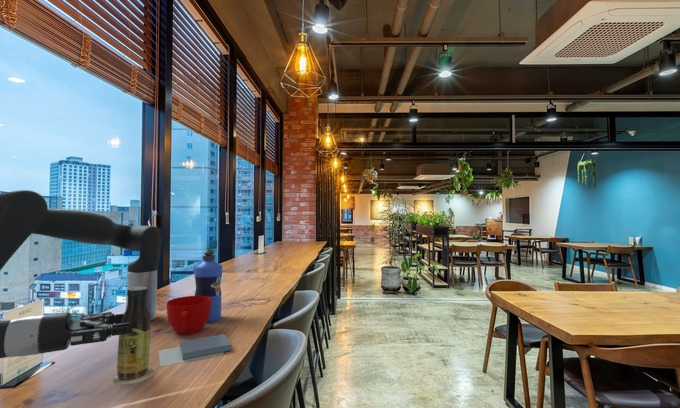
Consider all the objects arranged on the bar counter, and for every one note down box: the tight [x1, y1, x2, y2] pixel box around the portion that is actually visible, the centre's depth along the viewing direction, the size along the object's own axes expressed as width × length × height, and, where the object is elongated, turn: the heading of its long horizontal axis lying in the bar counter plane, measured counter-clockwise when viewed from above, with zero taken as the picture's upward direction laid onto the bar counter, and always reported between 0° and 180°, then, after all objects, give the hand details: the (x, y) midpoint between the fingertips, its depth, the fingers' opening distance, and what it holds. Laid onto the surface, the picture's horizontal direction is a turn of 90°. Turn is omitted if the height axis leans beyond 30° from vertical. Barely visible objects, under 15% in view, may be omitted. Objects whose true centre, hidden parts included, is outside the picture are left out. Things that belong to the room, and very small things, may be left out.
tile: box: [178, 333, 232, 360], centre depth 92 cm, size 2×9×12 cm
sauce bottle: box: [116, 287, 152, 380], centre depth 77 cm, size 7×6×20 cm
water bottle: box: [194, 248, 223, 324], centre depth 120 cm, size 9×9×25 cm
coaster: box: [112, 366, 155, 385], centre depth 77 cm, size 8×8×1 cm
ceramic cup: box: [166, 295, 211, 336], centre depth 105 cm, size 13×17×10 cm
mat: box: [158, 346, 225, 368], centre depth 90 cm, size 15×11×1 cm
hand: (133, 322), depth 77 cm, fingers open, 8 cm apart
